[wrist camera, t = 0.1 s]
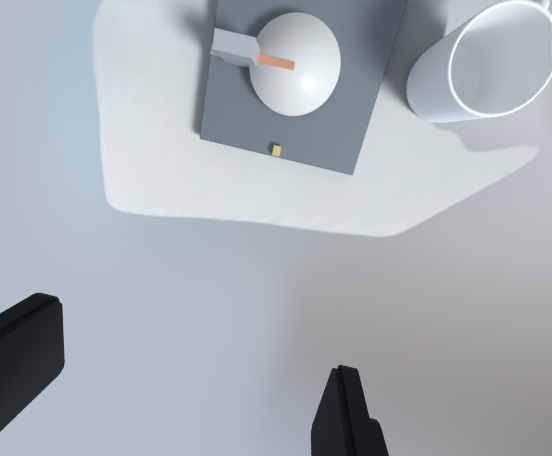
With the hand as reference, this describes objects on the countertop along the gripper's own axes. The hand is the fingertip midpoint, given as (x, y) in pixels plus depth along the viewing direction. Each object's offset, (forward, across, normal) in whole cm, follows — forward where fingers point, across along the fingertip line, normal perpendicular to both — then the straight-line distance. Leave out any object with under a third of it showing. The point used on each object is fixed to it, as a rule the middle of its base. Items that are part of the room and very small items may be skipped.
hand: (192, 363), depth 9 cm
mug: (+31, -17, -19) cm, 40 cm away
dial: (+29, +2, -15) cm, 33 cm away
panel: (+31, +1, -15) cm, 35 cm away
